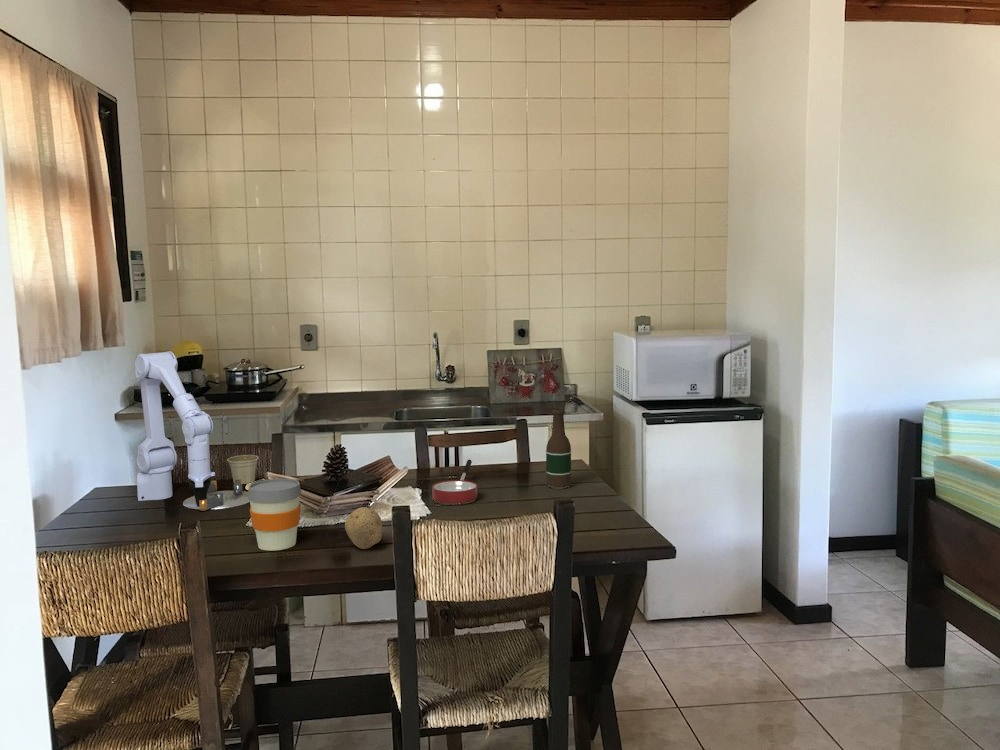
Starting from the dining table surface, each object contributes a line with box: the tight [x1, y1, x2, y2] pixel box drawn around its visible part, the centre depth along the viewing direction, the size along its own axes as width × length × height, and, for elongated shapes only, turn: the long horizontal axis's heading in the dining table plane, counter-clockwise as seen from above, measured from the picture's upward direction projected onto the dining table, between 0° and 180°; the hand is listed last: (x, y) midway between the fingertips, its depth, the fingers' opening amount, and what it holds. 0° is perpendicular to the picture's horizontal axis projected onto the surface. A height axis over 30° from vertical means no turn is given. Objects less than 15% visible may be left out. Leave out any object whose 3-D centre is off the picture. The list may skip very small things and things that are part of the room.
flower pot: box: [226, 454, 259, 485], centre depth 262 cm, size 9×9×9 cm
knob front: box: [199, 492, 224, 512], centre depth 232 cm, size 8×2×3 cm, turn 157°
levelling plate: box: [182, 490, 250, 510], centre depth 241 cm, size 20×20×2 cm
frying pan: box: [431, 459, 478, 503], centre depth 251 cm, size 32×13×6 cm, turn 178°
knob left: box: [207, 480, 218, 495], centre depth 247 cm, size 8×2×3 cm, turn 168°
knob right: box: [233, 479, 243, 495], centre depth 248 cm, size 8×2×3 cm, turn 18°
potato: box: [344, 506, 383, 550], centre depth 200 cm, size 9×9×10 cm
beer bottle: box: [545, 408, 572, 487], centre depth 254 cm, size 8×8×24 cm
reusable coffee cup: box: [247, 478, 302, 552], centre depth 203 cm, size 13×13×15 cm
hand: (201, 506), depth 232 cm, fingers closed, pressing on knob front
